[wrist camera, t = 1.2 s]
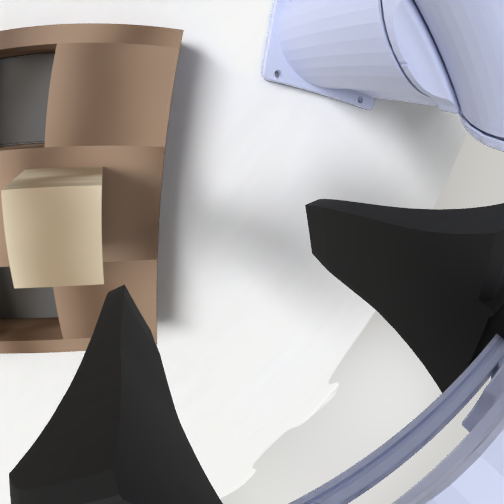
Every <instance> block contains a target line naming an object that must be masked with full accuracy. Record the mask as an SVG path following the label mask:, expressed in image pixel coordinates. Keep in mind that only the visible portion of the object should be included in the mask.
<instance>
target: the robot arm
mask: <svg viewBox="0 0 504 504" xmlns="http://www.w3.org/2000/svg"><path fill="white" fill-rule="evenodd" d="M275 71H277V72H278V73H279V77H278V78H276V77H275ZM261 75H262V77H263V78H264V79H266V80H268V81H273V82H277V83H281V84H285V85H289V86H293V87H296V88H300V89H304V90H307V91H311V92H314V93H318V94H321V95H324V96H328V97H331V98H334V99H337V100H340V101H343V102H346V103H349V104H352V105H355V106H358V107H361V108H363V109H367V110H371V109H372V108H373V106H374V100H375V98H378V99H387V100H396V101H403V102H410V103H417V104H423V105H429V106H438V107H439V109H440V110H442V111H447V112H452V113H457V114H460V118H461V121H462V123H463V125H464V127H465V128H466V130H467V131H468V132H469V133H470V134H471V135H472V136H473V137H474V138H475V139H477V140H478V141H480V142H481V143H483V144H485V145H487V146H489V147H492V148H494V149H497V150H500V151H503V152H504V0H274V2H273V7H272V13H271V18H270V24H269V29H268V35H267V40H266V46H265V52H264V58H263V63H262V69H261ZM358 98H359V102H358ZM305 206H306V213H307V219H308V226H309V233H310V240H311V248H312V253H313V255H314V256H315V257H316V258H317V259H318V260H319V261H320V262H321V264H322V265H323V266H324V267H325V268H326V269H327V270H328V271H329V272H330V273H332V274H333V275H334V276H335V277H336V278H338V279H339V280H340V281H341V282H343V283H344V284H345V285H346V286H348V287H349V288H350V289H351V290H352V291H354V292H355V293H356V294H357V295H359V296H360V297H361V298H362V299H364V300H365V301H366V302H367V303H369V304H370V305H371V306H372V307H373V308H374V309H375V310H377V311H378V312H379V313H380V314H381V315H382V316H383V317H384V318H385V320H386V321H387V322H388V323H389V324H390V325H391V326H392V327H393V328H394V329H395V330H396V331H397V332H398V334H399V335H400V336H401V337H402V338H403V339H404V341H405V342H406V343H407V344H408V345H409V346H410V348H411V349H412V350H413V352H414V353H415V354H416V355H417V357H418V358H419V359H420V361H421V362H422V363H423V364H424V366H425V367H426V369H427V370H428V372H429V373H430V375H431V376H432V378H433V379H434V381H435V382H436V384H437V385H438V387H439V388H440V390H441V392H442V394H441V395H440V396H439V397H438V398H437V399H436V400H435V401H434V402H433V403H432V404H431V405H430V406H429V407H428V408H426V409H425V410H424V411H423V412H422V413H421V414H420V415H418V416H417V417H416V418H415V419H414V420H413V421H412V422H410V423H409V424H408V425H407V426H406V427H405V428H403V429H402V430H401V431H400V432H398V433H397V434H396V435H395V436H393V437H392V438H391V439H389V440H388V441H387V442H386V443H384V444H383V445H382V446H380V447H379V448H378V449H376V450H375V451H374V452H372V453H371V454H370V455H368V456H367V457H365V458H364V459H362V460H361V461H359V462H358V463H356V464H355V465H353V466H352V467H351V468H349V469H348V470H346V471H345V472H343V473H341V474H340V475H338V476H337V477H335V478H333V479H332V480H330V481H328V482H327V483H325V484H324V485H322V486H320V487H319V488H317V489H315V490H313V491H311V492H310V493H308V494H306V495H304V496H302V497H300V498H299V499H297V500H295V501H293V502H291V503H289V504H348V503H349V502H351V501H352V500H354V499H355V498H357V497H358V496H360V495H361V494H363V493H364V492H366V491H367V490H369V489H370V488H372V487H373V486H374V485H376V484H377V483H379V482H380V481H381V480H383V479H384V478H385V477H387V476H388V475H389V474H391V473H392V472H393V471H395V470H396V469H397V468H398V467H400V466H401V465H402V464H403V463H405V462H406V461H407V460H408V459H409V458H411V457H412V456H413V455H414V454H415V453H417V452H418V451H419V450H420V449H421V448H422V447H423V446H425V444H427V443H428V442H429V441H430V440H431V439H432V438H433V437H434V436H435V435H436V434H438V433H439V432H440V431H441V430H442V429H443V428H444V427H445V426H446V425H447V424H448V423H449V422H450V421H451V420H452V419H453V418H454V417H455V416H456V415H457V414H458V413H459V412H460V410H461V409H462V408H463V407H464V406H465V405H466V404H467V403H468V402H469V401H470V400H471V399H472V397H473V396H474V395H475V394H476V393H477V392H478V391H479V389H480V388H481V387H482V386H483V385H484V384H485V382H486V381H487V380H488V379H489V377H490V376H491V379H492V380H491V381H490V383H489V384H488V386H487V387H486V388H485V389H484V391H483V393H482V395H481V397H480V398H479V400H478V401H477V403H476V404H475V406H474V407H473V409H472V410H471V412H470V413H469V414H468V415H467V417H466V418H465V419H464V420H463V422H462V425H463V426H464V427H465V428H466V429H467V430H468V431H469V432H470V433H469V434H468V435H467V436H466V437H465V438H464V439H463V440H462V441H461V442H460V444H459V445H458V446H457V447H456V448H455V449H454V450H453V451H452V452H451V453H450V454H449V455H448V456H447V457H446V458H445V459H444V460H443V461H442V462H440V463H439V464H438V465H437V466H436V467H435V468H434V469H433V470H432V471H431V472H430V473H428V474H427V475H426V476H425V477H424V478H423V479H422V480H421V481H420V482H418V483H417V484H416V485H415V486H414V487H412V488H411V489H410V490H409V491H407V492H406V493H405V494H404V495H402V496H401V497H400V498H399V499H397V500H396V501H395V502H393V503H392V504H504V203H503V204H498V205H492V206H486V207H477V208H468V209H446V210H445V209H444V210H430V209H409V208H398V207H388V206H380V205H372V204H365V203H358V202H350V201H342V200H331V199H319V200H316V201H314V202H312V203H309V204H307V205H305ZM9 481H10V496H11V504H223V503H222V502H221V500H220V499H219V497H218V495H217V494H216V492H215V490H214V489H213V487H212V485H211V483H210V482H209V480H208V478H207V476H206V475H205V473H204V471H203V469H202V467H201V465H200V463H199V461H198V459H197V457H196V455H195V453H194V452H193V449H192V447H191V445H190V443H189V441H188V439H187V437H186V435H185V433H184V430H183V428H182V426H181V424H180V421H179V419H178V416H177V413H176V410H175V407H174V404H173V400H172V397H171V393H170V390H169V386H168V383H167V379H166V375H165V372H164V368H163V364H162V360H161V357H160V353H159V351H158V348H157V346H156V343H155V340H154V338H153V335H152V332H151V330H150V328H149V326H148V325H147V323H146V321H145V320H144V318H143V316H142V315H141V313H140V311H139V309H138V308H137V306H136V304H135V302H134V301H133V299H132V297H131V295H130V293H129V292H128V290H127V288H126V286H125V285H122V286H120V287H118V288H116V289H114V290H111V291H109V292H108V293H107V296H106V298H105V301H104V304H103V307H102V309H101V312H100V315H99V318H98V321H97V324H96V326H95V329H94V332H93V335H92V337H91V340H90V342H89V344H88V347H87V349H86V352H85V354H84V357H83V359H82V362H81V364H80V366H79V368H78V370H77V373H76V375H75V377H74V379H73V381H72V383H71V385H70V387H69V388H68V390H67V392H66V394H65V395H64V397H63V399H62V401H61V402H60V404H59V406H58V407H57V409H56V411H55V413H54V414H53V416H52V418H51V419H50V421H49V422H48V424H47V425H46V427H45V428H44V430H43V431H42V433H41V434H40V435H39V437H38V438H37V440H36V441H35V443H34V444H33V445H32V447H31V448H30V449H29V450H28V452H27V453H26V454H25V455H24V457H23V458H22V459H21V460H20V461H19V463H18V464H17V465H16V466H15V468H14V469H13V470H12V471H11V472H10V473H9Z"/></svg>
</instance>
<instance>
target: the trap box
mask: <svg viewBox="0 0 504 504" xmlns="http://www.w3.org/2000/svg"><path fill="white" fill-rule="evenodd" d="M182 35H183V30H179V29H171V28H163V27H153V26H142V25H127V24H59V25H45V26H34V27H25V28H17V29H10V30H4V31H0V145H2V144H13V143H25V142H40V141H45V143H30V144H17V145H6V146H0V353H48V352H70V351H86V349H87V347H88V344H89V342H90V340H91V337H92V335H93V332H94V329H95V326H96V324H97V321H98V318H99V315H100V312H101V309H102V307H103V304H104V301H105V298H106V296H107V293H108V292H109V291H111V290H114V289H116V288H118V287H120V286H122V285H125V286H126V288H127V290H128V292H129V293H130V295H131V297H132V299H133V301H134V302H135V304H136V306H137V308H138V309H139V311H140V313H141V315H142V316H143V318H144V320H145V321H146V323H147V325H148V326H149V328H150V330H151V332H152V335H153V338H154V340H155V343H156V344H157V252H158V230H159V213H160V198H161V185H162V174H163V163H164V154H165V144H166V136H167V127H168V120H169V112H170V105H171V98H172V91H173V85H174V79H175V73H176V67H177V61H178V56H179V50H180V45H181V40H182ZM47 53H55V54H47ZM34 54H43V55H34ZM24 55H32V56H24ZM16 56H22V57H16ZM8 57H13V58H8ZM1 58H6V59H1ZM98 166H103V174H102V255H103V275H104V284H98V285H80V286H59V287H38V288H14V285H13V280H12V275H11V270H10V264H9V258H8V252H7V245H6V238H5V230H4V221H3V211H2V198H1V190H2V189H3V188H4V187H5V186H6V185H7V184H9V183H10V182H11V181H12V180H13V179H14V178H16V177H17V176H18V175H19V174H20V173H22V172H23V171H24V170H25V169H41V168H62V167H98Z"/></svg>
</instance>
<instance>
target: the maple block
mask: <svg viewBox="0 0 504 504" xmlns="http://www.w3.org/2000/svg"><path fill="white" fill-rule="evenodd" d="M102 174H103V166H98V167H62V168H41V169H25V170H24V171H23V172H22V173H20V174H19V175H18V176H17V177H16V178H14V179H13V180H12V181H11V182H10V183H9V184H7V185H6V186H5V187H4V188H3V189H2V190H1V198H2V211H3V221H4V230H5V238H6V245H7V252H8V258H9V264H10V270H11V275H12V280H13V285H14V288H38V287H59V286H80V285H98V284H104V275H103V255H102Z"/></svg>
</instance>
